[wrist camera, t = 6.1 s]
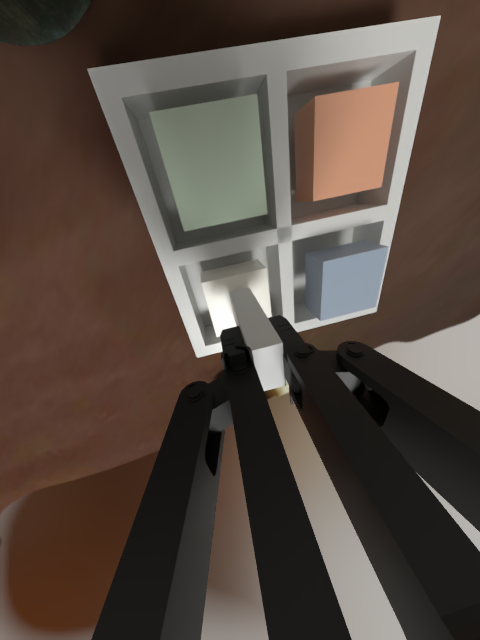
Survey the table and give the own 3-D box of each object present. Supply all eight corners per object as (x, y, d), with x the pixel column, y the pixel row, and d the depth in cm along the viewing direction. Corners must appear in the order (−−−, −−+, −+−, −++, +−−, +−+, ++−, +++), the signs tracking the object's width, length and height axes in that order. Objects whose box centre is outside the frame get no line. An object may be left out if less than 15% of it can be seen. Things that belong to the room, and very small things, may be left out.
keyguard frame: (197, 335, 21) (197, 357, 18) (114, 101, 12) (86, 69, 9) (352, 297, 22) (376, 311, 19) (385, 57, 13) (440, 15, 10)
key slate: (302, 303, 18) (320, 321, 15) (301, 251, 16) (323, 261, 13) (350, 291, 18) (375, 306, 16) (357, 239, 16) (388, 246, 13)
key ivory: (213, 318, 19) (216, 337, 16) (200, 269, 16) (201, 283, 14) (261, 306, 19) (272, 323, 16) (255, 257, 17) (266, 268, 14)
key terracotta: (292, 201, 15) (313, 201, 13) (290, 117, 13) (315, 96, 10) (350, 189, 15) (381, 187, 13) (358, 105, 13) (399, 81, 10)
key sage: (186, 225, 13) (184, 231, 11) (160, 133, 11) (148, 112, 8) (253, 211, 14) (267, 213, 11) (242, 118, 11) (257, 93, 9)
